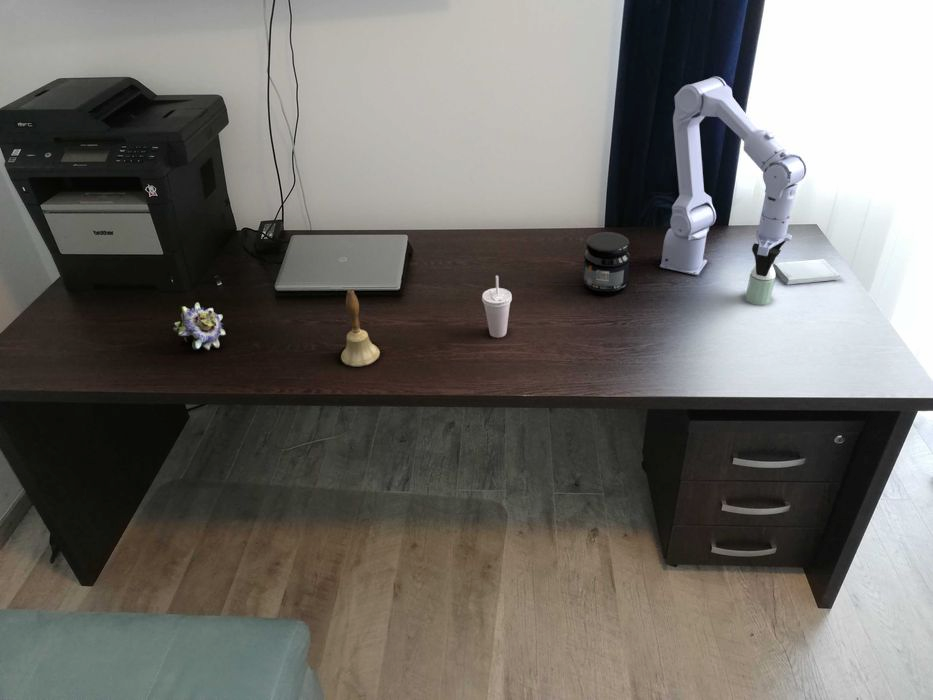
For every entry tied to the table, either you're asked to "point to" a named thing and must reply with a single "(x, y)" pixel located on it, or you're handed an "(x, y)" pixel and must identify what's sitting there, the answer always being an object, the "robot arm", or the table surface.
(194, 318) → the passion flower
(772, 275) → the white jar
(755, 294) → the cup
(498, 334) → the smoothie
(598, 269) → the supplement container
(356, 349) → the hand bell
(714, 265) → the table surface
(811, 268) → the hard drive
